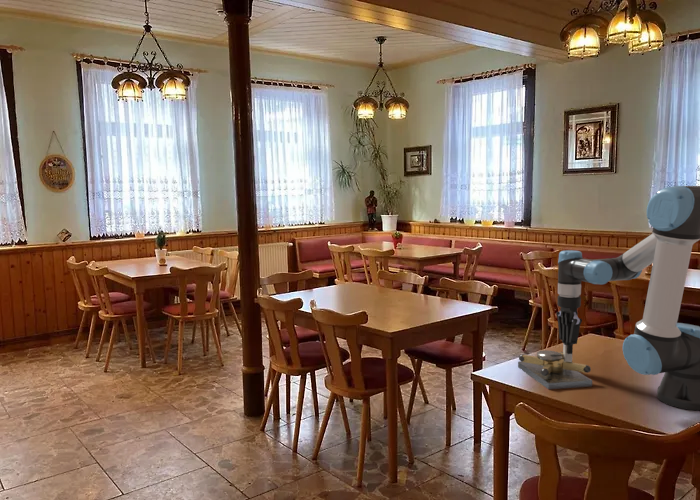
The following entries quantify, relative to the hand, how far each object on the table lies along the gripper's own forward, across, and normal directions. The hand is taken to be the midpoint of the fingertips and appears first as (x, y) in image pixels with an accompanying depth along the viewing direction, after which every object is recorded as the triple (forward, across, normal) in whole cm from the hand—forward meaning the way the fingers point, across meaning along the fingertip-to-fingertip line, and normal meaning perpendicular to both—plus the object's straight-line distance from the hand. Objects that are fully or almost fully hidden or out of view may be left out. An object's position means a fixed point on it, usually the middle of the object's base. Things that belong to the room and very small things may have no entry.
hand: (567, 361), depth 200 cm
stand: (+3, -5, +8) cm, 10 cm away
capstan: (+1, -5, +8) cm, 10 cm away
